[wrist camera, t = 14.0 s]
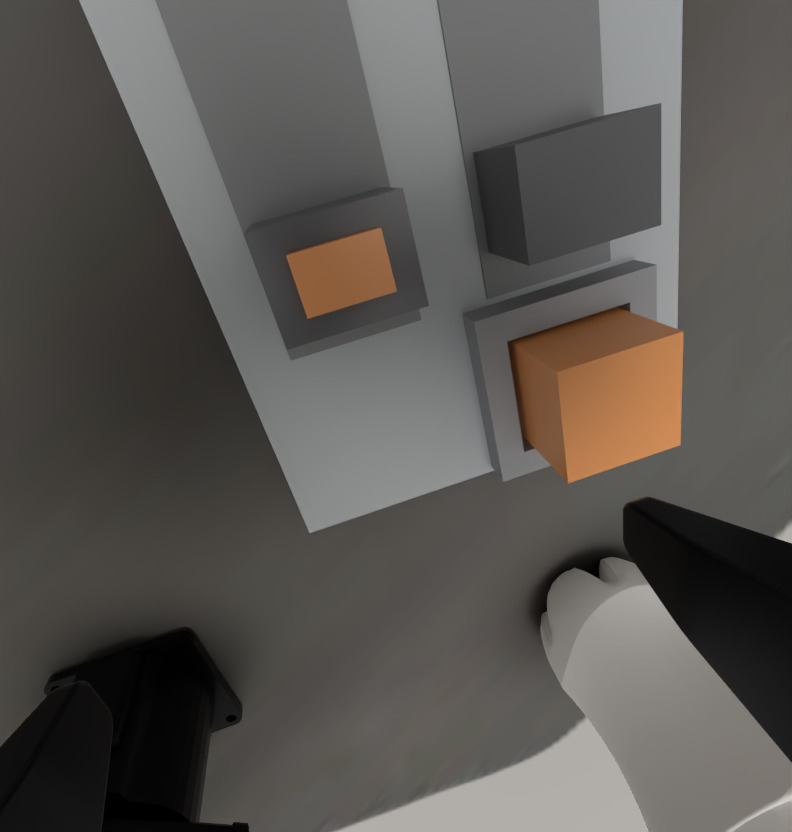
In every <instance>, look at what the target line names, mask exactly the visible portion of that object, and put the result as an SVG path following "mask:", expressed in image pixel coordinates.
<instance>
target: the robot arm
mask: <svg viewBox="0 0 792 832" xmlns="http://www.w3.org/2000/svg"><path fill="white" fill-rule="evenodd" d="M623 541H624V545H625V548H626V550H627V552H628V554H629V556H630V557H631V558H632V560H633V561H634V563H635V564H636V566H637V567H638V569H639V570H640V572H641V573H642V574H643V576H644V577H645V579H646V580H647V582H648V583H649V585H650V586H651V588H652V589H653V591H654V592H655V593H656V595H657V596H658V598H659V599H660V601H661V602H662V604H663V605H664V607H665V608H666V610H667V611H668V612H669V614H670V615H671V617H672V618H673V620H674V621H675V622H676V624H677V625H678V627H679V628H680V629H681V631H682V632H683V633H684V635H685V636H686V637H687V638H688V640H689V641H690V642H691V643H692V645H693V646H694V647H695V648H696V649H697V651H698V652H699V653H700V654H701V655H702V657H703V658H704V659H705V660H706V661H707V662H708V664H709V665H710V666H711V667H712V668H713V670H714V671H715V672H716V673H717V674H718V676H719V677H720V678H721V679H722V680H723V682H724V683H725V684H726V685H727V686H728V688H729V689H730V690H731V691H732V692H733V694H734V695H735V696H736V697H737V698H738V699H739V701H740V702H741V703H742V704H743V705H744V707H745V708H746V709H747V710H748V711H749V713H750V714H751V715H752V716H753V717H754V719H755V720H756V721H757V722H758V723H759V725H760V726H761V727H762V728H763V729H764V730H765V732H766V733H767V734H768V735H769V736H770V738H771V739H772V740H773V741H774V742H775V744H776V745H777V746H778V747H779V748H780V750H781V751H782V752H783V753H784V754H785V756H786V757H787V758H788V759H789V760H790V761H791V763H792V544H791V543H788V542H785V541H782V540H779V539H776V538H773V537H770V536H767V535H764V534H761V533H758V532H755V531H752V530H749V529H746V528H743V527H740V526H737V525H734V524H731V523H728V522H725V521H722V520H719V519H716V518H713V517H710V516H707V515H704V514H700V513H697V512H694V511H691V510H688V509H685V508H682V507H679V506H676V505H673V504H670V503H667V502H664V501H661V500H658V499H655V498H652V497H643V498H640V499H637V500H634V501H631V502H628V503H626V504H625V506H624V508H623ZM180 642H185V643H180ZM44 692H45V694H46V695H47V697H46V698H45V699H44V700H43V701H42V702H41V704H40V705H39V706H38V707H37V708H36V709H35V710H34V711H33V712H32V713H31V714H30V715H29V717H28V718H27V719H26V720H25V721H24V722H23V723H22V724H21V725H20V726H19V727H18V729H17V730H16V731H15V732H14V733H13V734H12V735H11V736H10V737H9V738H8V739H7V740H6V742H5V743H4V744H3V745H2V746H1V747H0V832H249V827H248V823H240V822H234V823H233V824H232V825H227V824H214V823H200V822H199V820H200V813H201V805H202V797H203V790H204V782H205V775H206V767H207V759H208V752H209V744H210V736H211V733H213V732H215V731H218V730H221V729H224V728H226V727H229V726H232V725H234V724H237V723H239V722H240V721H241V719H242V707H241V705H240V704H239V702H238V701H237V699H236V698H235V696H234V695H233V693H232V692H231V690H230V689H229V687H228V686H227V684H226V682H225V681H224V679H223V678H222V676H221V675H220V673H219V672H218V670H217V669H216V667H215V666H214V664H213V663H212V661H211V660H210V658H209V657H208V655H207V654H206V652H205V651H204V649H203V647H202V646H201V644H200V643H199V641H198V640H197V638H196V637H195V635H194V634H193V633H191V632H189V631H179V632H176V633H173V634H170V635H167V636H164V637H161V638H159V639H156V640H153V641H150V642H147V643H144V644H141V645H138V646H136V647H133V648H130V649H127V650H124V651H121V652H118V653H115V654H113V655H110V656H107V657H104V658H101V659H98V660H95V661H92V662H90V663H87V664H84V665H81V666H78V667H75V668H72V669H69V670H67V671H64V672H61V673H58V674H55V675H53V676H51V677H50V678H49V679H48V681H47V684H46V686H45V688H44Z"/></svg>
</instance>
